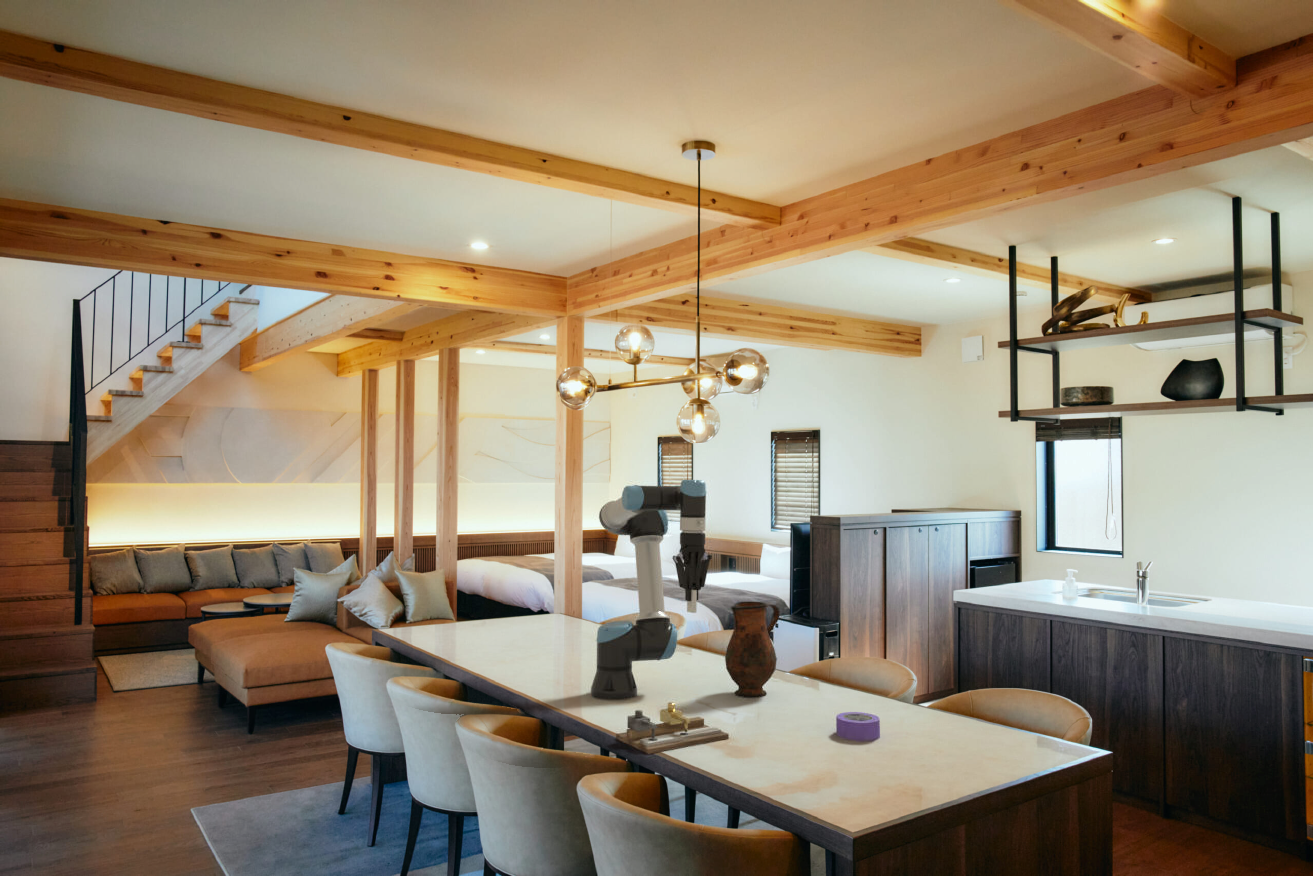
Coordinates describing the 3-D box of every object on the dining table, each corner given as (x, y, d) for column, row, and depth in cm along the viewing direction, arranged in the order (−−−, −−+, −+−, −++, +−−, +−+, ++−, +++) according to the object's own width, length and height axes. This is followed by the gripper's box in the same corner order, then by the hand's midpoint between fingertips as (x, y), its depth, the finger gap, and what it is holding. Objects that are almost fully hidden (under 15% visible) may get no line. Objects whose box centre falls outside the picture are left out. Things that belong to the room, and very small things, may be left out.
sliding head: (660, 724, 234) (660, 702, 235) (671, 722, 237) (672, 700, 237) (682, 733, 226) (682, 710, 226) (694, 731, 228) (694, 708, 228)
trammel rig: (616, 738, 229) (616, 709, 230) (693, 724, 244) (693, 697, 244) (648, 754, 216) (648, 722, 217) (728, 738, 230) (728, 709, 231)
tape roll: (828, 731, 239) (827, 713, 239) (862, 727, 243) (862, 709, 243) (853, 743, 228) (853, 724, 228) (888, 739, 232) (888, 720, 233)
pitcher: (714, 693, 283) (715, 602, 284) (760, 684, 295) (760, 597, 297) (749, 703, 269) (749, 607, 271) (795, 694, 282) (795, 603, 284)
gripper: (681, 533, 245) (680, 615, 244) (717, 532, 252) (717, 612, 251) (667, 531, 251) (666, 612, 250) (702, 530, 258) (702, 608, 257)
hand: (691, 612), depth 250 cm, fingers closed
